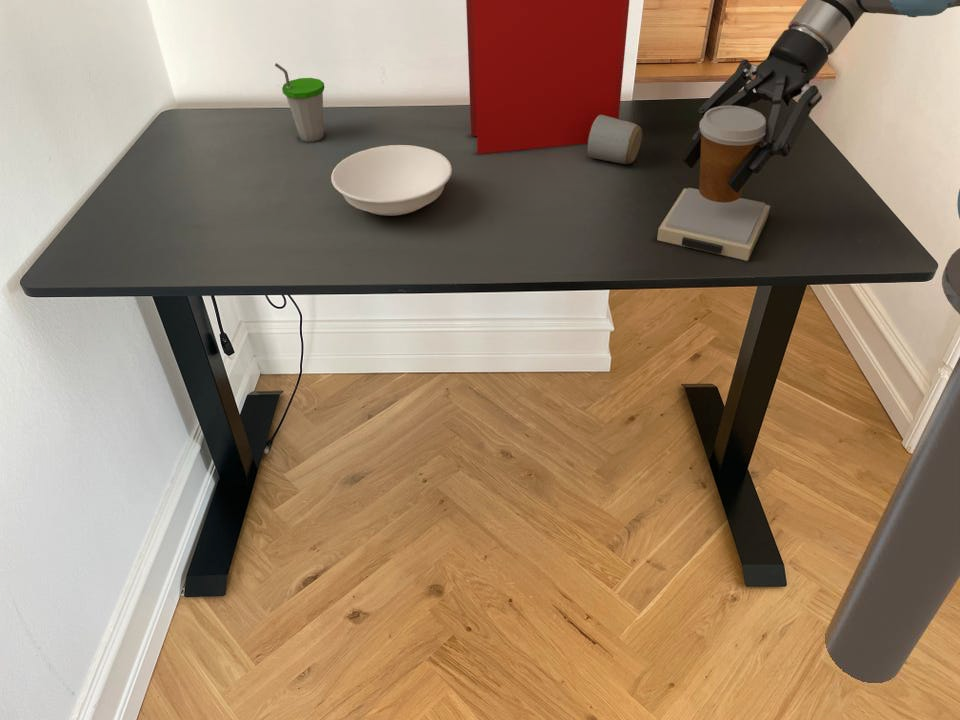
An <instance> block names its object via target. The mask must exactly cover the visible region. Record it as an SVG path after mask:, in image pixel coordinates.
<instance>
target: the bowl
mask: <svg viewBox="0 0 960 720" xmlns="http://www.w3.org/2000/svg"><path fill="white" fill-rule="evenodd" d="M452 172H453V167H452V165H451V162H450V161H449V159H448V158H447V157H445V156H444V155H443V154H442V153H440V152H438V151H436V150H434V149H430V148H428V147H423V146H419V145H410V144H409V145H408V144H391V145H381V146H376V147H371V148H367V149H364V150H360V151H358V152H355V153H353V154H350V155H349V156H347V157H345V158H343V159H342V160H341V161H340V162H339V163H337V164H336V166H335V167H334V168H333V170H332V173H331V176H330V179H331V184H332V185H333V187H334V188H335V190H337V191H338V192H339V193H340V194H342V196H343V198H344V200H345V201H346V202H347V203H348V204H349V205H350V206H352V207H354V208H355V209H358V210H361V211H365V212H368V213H371V214H373V215H379V216H386V217H387V216H393V217H394V216H401V215H406V214H410V213H413V212H416V211H419V210H421V209H422V208H423V207H425V206H427V205H429V204H431V203H433V202H434V201H435V200H437V199H438V198H439V197H440V196H441V195H442V194H443V191H444V189H445V185H446V183H448V181H449V180H450V178H451V177H452V175H453V174H452Z"/></svg>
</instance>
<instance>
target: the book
mask: <svg viewBox="0 0 960 720" xmlns="http://www.w3.org/2000/svg"><path fill="white" fill-rule="evenodd" d="M630 2H631V1H630V0H465V3H466V4H465V5H466V6H465V8H466V33H467V60H468V61H467V62H468V63H467V64H468V87H469V112H470V136H471V137H476V147H477V148H476V151H477V155H480V154H490V153H491V154H492V153H501V152H511V151H512V152H513V151H521V150H531V149H542V148H553V147H562V146H573V145H583V144H588V139H589V134H590V131H591V127H592V125H593V123H594V121H595V119H596V118H597V117H598V116H599V115H605V116H608V117H612V118H616V119H619V118H620V109H621V98H622V87H623V75H624V65H625V53H626V44H627V43H626V42H627V33H628V22H629V21H628V20H629V11H630V10H629V9H630Z"/></svg>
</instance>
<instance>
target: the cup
mask: <svg viewBox="0 0 960 720" xmlns="http://www.w3.org/2000/svg"><path fill="white" fill-rule="evenodd" d="M274 67H276V68H278V70H280V71H281V72H283V74H284V77H285V83H283V85H282V87H281V90H282V95H284V96H285V98H286V100H287V103H288V105H289V108H290V111H291V115H292V118H293V120H294V124H295V126H296V130H297V132H298V135H299V139H300V140H301V141H302V142H305V143H314V142H318V141H321V140H323V139H324V136H325V127H324V126H325V125H324V123H325V122H324V97H323V96H324V91H325V83H324V82H323V81H322V80H321V79H319V78H314V77H300V78H295V79H292V80H290V77H289V74H288V70H286V69H285V68H284V67H282V66H281V65H280V64H278V63H277V62H276V63H275V64H274Z"/></svg>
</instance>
